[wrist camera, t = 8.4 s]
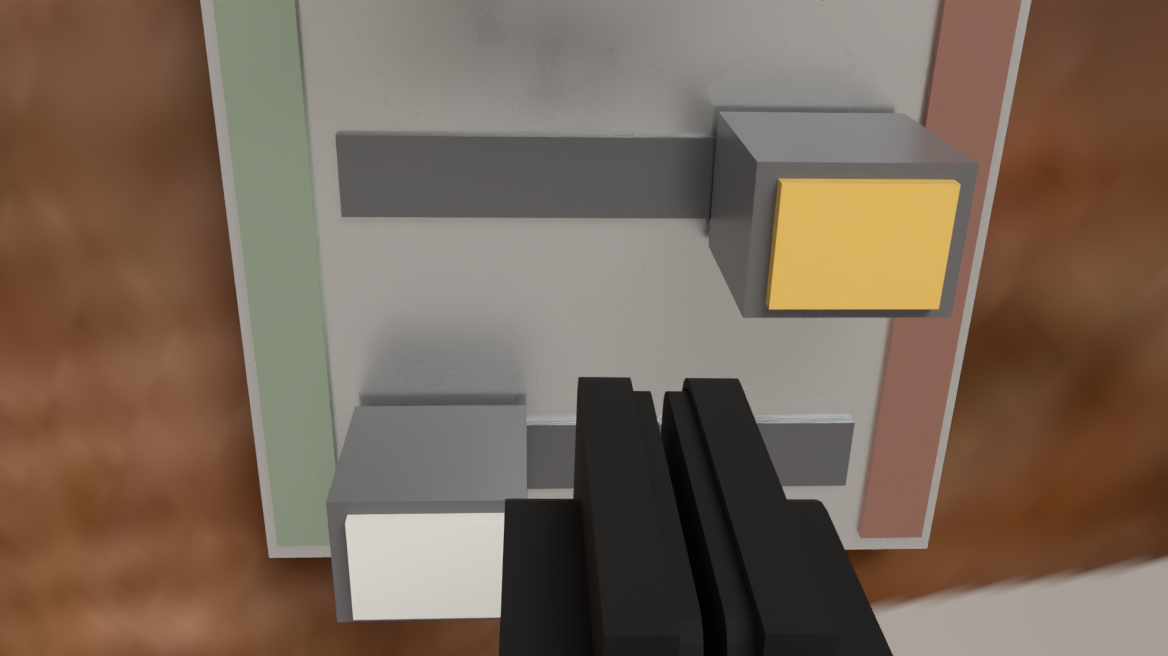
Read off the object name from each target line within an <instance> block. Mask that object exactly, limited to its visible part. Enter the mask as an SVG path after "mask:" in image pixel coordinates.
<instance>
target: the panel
mask: <svg viewBox="0 0 1168 656" xmlns="http://www.w3.org/2000/svg"><path fill="white" fill-rule="evenodd" d="M200 2H201V10H202V19H203V27H204V35H205V43H206V51H207V59H208V67H209V75H210V83H211V92H212V100H213V108H214V116H215V124H216V132H217V140H218V148H219V156H220V165H221V173H222V181H223V189H224V197H225V205H226V213H227V221H228V229H229V238H230V246H231V254H232V262H233V270H234V278H235V286H236V294H237V302H238V310H239V319H240V327H241V335H242V343H243V351H244V359H245V367H246V375H247V383H248V392H249V400H250V408H251V416H252V424H253V432H254V440H255V448H256V456H257V465H258V473H259V481H260V489H261V497H262V505H263V513H264V521H265V529H266V537H267V546H268V554H269V558H302V557H331V551H330V540H329V530H328V519H327V508H326V500H327V497H328V494H329V491H330V487H331V484H332V481H333V478H334V474H335V471H336V468H337V464H338V461H339V458H340V455H341V451H342V448H343V445H344V441H345V438H346V435H347V432H348V428H349V425H350V422H351V418H352V415H353V412H354V409H355V406H476V405H526V423H527V499H573V491H574V463H575V436H576V408H577V386H578V378H579V377H630V378H631V381H632V386H633V391H651V394H652V398H653V403H654V407H655V412H656V416H657V420H658V425H659V429H660V434H661V423H662V410H663V400H664V394H665V392H666V391H682V387H683V383H684V380H685V378H738V379H739V381H740V383H741V385H742V388H743V390H744V393H745V395H746V398H747V400H748V403H749V405H750V408H751V410H752V413H753V415H754V418H755V420H756V423H757V425H758V428H759V430H760V433H761V435H762V438H763V440H764V443H765V445H766V448H767V450H768V453H769V455H770V458H771V460H772V463H773V465H774V468H775V471H776V473H777V476H778V478H779V481H780V483H781V486H782V488H783V491H784V493H785V496H786V498H787V499H816V500H819V501H821V502H822V503H823V505H824V506H825V508H826V509H827V511H828V513H829V516H830V518H831V520H832V522H833V524H834V527H835V529H836V531H837V533H838V535H839V538H840V540H841V542H842V544H843V547H844V549H845V550H856V549H926V548H927V546H928V541H929V536H930V531H931V525H932V520H933V515H934V510H935V504H936V499H937V494H938V489H939V483H940V478H941V473H942V467H943V462H944V457H945V452H946V446H947V441H948V436H949V431H950V425H951V420H952V415H953V410H954V404H955V399H956V394H957V389H958V383H959V378H960V373H961V367H962V362H963V357H964V352H965V346H966V341H967V336H968V331H969V325H970V320H971V315H972V310H973V304H974V299H975V294H976V289H977V283H978V278H979V273H980V267H981V262H982V257H983V252H984V246H985V241H986V236H987V231H988V225H989V220H990V215H991V210H992V204H993V199H994V194H995V189H996V183H997V178H998V173H999V168H1000V162H1001V157H1002V152H1003V146H1004V141H1005V136H1006V131H1007V125H1008V120H1009V115H1010V110H1011V104H1012V99H1013V94H1014V89H1015V83H1016V78H1017V73H1018V68H1019V62H1020V57H1021V52H1022V46H1023V41H1024V36H1025V31H1026V25H1027V20H1028V15H1029V10H1030V4H1031V0H200ZM718 112H803V113H900V114H906V115H907V116H909V117H910V118H912V119H913V120H915V121H916V122H918V123H919V124H921V125H922V126H924V127H925V128H927V129H928V130H930V131H931V132H933V133H934V134H936V135H937V136H939V137H940V138H942V139H943V140H945V141H946V142H948V143H949V144H951V145H952V146H954V147H955V148H957V149H958V150H960V151H961V152H963V153H964V154H966V155H967V156H969V157H970V158H972V159H973V160H974V161H976V162H977V163H979V167H978V172H977V178H976V183H975V189H974V194H973V200H972V205H971V211H970V216H969V222H968V227H967V233H966V238H965V244H964V249H963V255H962V260H961V266H960V271H959V277H958V282H957V288H956V293H955V299H954V304H953V310H952V315H951V318H743V317H742V315H741V313H740V311H739V308H738V306H737V304H736V302H735V300H734V298H733V296H732V294H731V292H730V290H729V288H728V286H727V283H726V281H725V279H724V277H723V275H722V273H721V271H720V269H719V267H718V265H717V263H716V261H715V258H714V256H713V254H712V252H711V250H710V248H709V246H708V245H709V232H710V219H711V205H712V192H713V179H714V165H715V152H716V139H717V126H718Z"/></svg>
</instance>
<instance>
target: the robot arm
mask: <svg viewBox="0 0 1168 656" xmlns="http://www.w3.org/2000/svg"><path fill="white" fill-rule="evenodd" d="M499 656H893V655H892V653H891V650H890V648H889V646H888V644H887V642H886V639H885V637H884V635H883V633H882V630H881V628H880V626H879V624H878V622H877V620H876V617H875V615H874V613H873V611H872V608H871V606H870V604H869V602H868V600H867V597H866V595H865V593H864V591H863V588H862V586H861V584H860V582H859V580H858V577H857V575H856V573H855V571H854V569H853V566H852V564H851V562H850V560H849V558H848V555H847V553H846V551H845V549H844V547H843V544H842V542H841V540H840V538H839V535H838V533H837V531H836V529H835V527H834V524H833V522H832V520H831V518H830V516H829V513H828V511H827V509H826V508H825V506H824V505H823V503H822V502H821V501H819V500H816V499H787V498H786V496H785V493H784V491H783V488H782V486H781V483H780V481H779V478H778V476H777V473H776V471H775V468H774V465H773V463H772V460H771V458H770V455H769V453H768V450H767V448H766V445H765V443H764V440H763V438H762V435H761V433H760V430H759V428H758V425H757V423H756V420H755V418H754V415H753V413H752V410H751V408H750V405H749V403H748V400H747V398H746V395H745V393H744V390H743V388H742V385H741V383H740V381H739V379H738V378H685V380H684V383H683V387H682V391H666V392H665V394H664V400H663V410H662V423H661V434H660V429H659V425H658V420H657V416H656V412H655V407H654V403H653V398H652V394H651V391H633V386H632V381H631V378H630V377H579V378H578V386H577V408H576V436H575V463H574V491H573V499H516V498H505V512H504V539H503V565H502V592H501V618H500V645H499Z"/></svg>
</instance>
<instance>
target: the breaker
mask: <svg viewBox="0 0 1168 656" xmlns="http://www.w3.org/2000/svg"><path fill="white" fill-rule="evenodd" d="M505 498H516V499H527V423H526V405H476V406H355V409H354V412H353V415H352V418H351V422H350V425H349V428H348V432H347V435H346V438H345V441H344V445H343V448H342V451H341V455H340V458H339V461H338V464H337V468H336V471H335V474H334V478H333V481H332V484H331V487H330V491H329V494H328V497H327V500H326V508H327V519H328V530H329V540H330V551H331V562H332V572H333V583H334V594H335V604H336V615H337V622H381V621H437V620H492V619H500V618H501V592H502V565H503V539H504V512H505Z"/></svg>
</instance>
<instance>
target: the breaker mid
mask: <svg viewBox="0 0 1168 656" xmlns="http://www.w3.org/2000/svg"><path fill="white" fill-rule="evenodd" d="M978 167H979V163H977V162H976V161H974V160H973V159H972V158H970V157H969V156H967V155H966V154H964V153H963V152H961V151H960V150H958V149H957V148H955V147H954V146H952V145H951V144H949V143H948V142H946V141H945V140H943V139H942V138H940V137H939V136H937V135H936V134H934V133H933V132H931V131H930V130H928V129H927V128H925V127H924V126H922V125H921V124H919V123H918V122H916V121H915V120H913V119H912V118H910V117H909V116H907V115H906V114H900V113H803V112H718V126H717V139H716V152H715V165H714V179H713V192H712V205H711V219H710V232H709V245H708V246H709V248H710V250H711V252H712V254H713V256H714V258H715V261H716V263H717V265H718V267H719V269H720V271H721V273H722V275H723V277H724V279H725V281H726V283H727V286H728V288H729V290H730V292H731V294H732V296H733V298H734V300H735V302H736V304H737V306H738V308H739V311H740V313H741V315H742V317H743V318H951V315H952V310H953V304H954V299H955V293H956V288H957V282H958V277H959V271H960V266H961V260H962V255H963V249H964V244H965V238H966V233H967V227H968V222H969V216H970V211H971V205H972V200H973V194H974V189H975V183H976V178H977V172H978Z"/></svg>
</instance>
